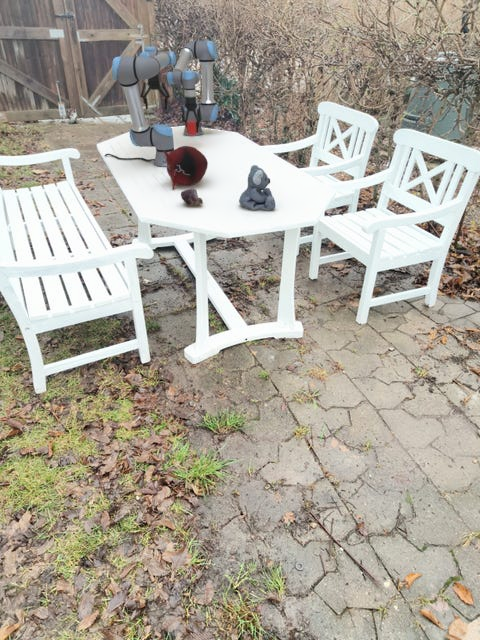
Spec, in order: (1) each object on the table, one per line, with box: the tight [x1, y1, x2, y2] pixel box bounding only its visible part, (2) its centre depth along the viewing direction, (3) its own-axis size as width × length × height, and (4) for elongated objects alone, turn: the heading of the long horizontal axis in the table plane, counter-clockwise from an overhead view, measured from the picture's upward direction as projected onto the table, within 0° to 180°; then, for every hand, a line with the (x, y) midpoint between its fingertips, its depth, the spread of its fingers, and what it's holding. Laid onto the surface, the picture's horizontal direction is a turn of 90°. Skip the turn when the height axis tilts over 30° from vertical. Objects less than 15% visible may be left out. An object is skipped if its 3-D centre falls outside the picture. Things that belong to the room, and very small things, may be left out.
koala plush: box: [238, 164, 276, 211], centre depth 224 cm, size 17×18×20 cm
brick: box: [187, 120, 197, 135], centre depth 318 cm, size 7×6×8 cm
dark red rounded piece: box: [163, 145, 209, 190], centre depth 255 cm, size 21×24×25 cm
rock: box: [180, 188, 204, 207], centre depth 229 cm, size 12×9×10 cm
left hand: (156, 109), depth 309 cm, fingers open, 13 cm apart
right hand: (192, 132), depth 320 cm, fingers closed on brick, 6 cm apart
